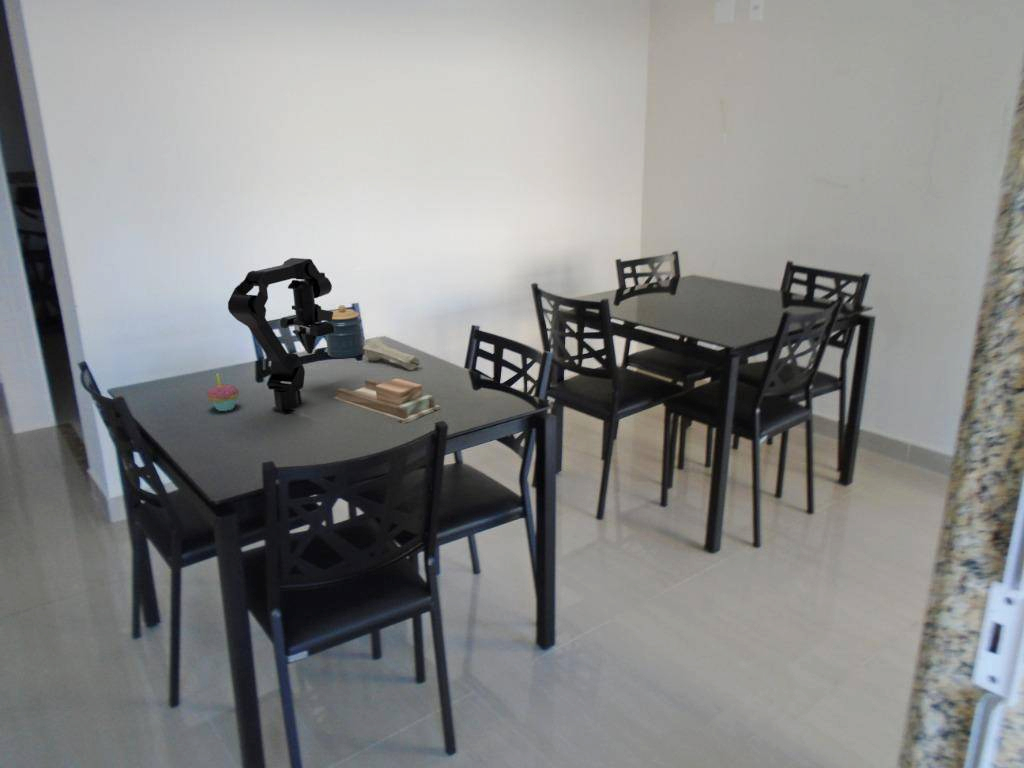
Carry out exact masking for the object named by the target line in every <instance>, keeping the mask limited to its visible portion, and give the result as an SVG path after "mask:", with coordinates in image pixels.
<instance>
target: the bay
mask: <svg viewBox="0 0 1024 768" xmlns="http://www.w3.org/2000/svg"><path fill="white" fill-rule="evenodd" d="M382 383H383V382H380V381H377V380H373V379H369V378H368V379H365V380H364V384H365V385H364V386H363V387H361V388H358V389H355V390H352V391H351V390H348V389H345V388H338V389H336V390H337V396H335V397H333V399H335V400H338V401H341V402H345V403H348V404H350V405H354V406H357V407H360V408H363V409H366V410H369V411H372V412H375V413H378V414H381V415H385V416H388V417H391V418H393V419H397V420H398V421H397V423H399V422H401V423H400V424H402V423H403V425H405V424H407V423H406V422H408V423H410V422H412V421H414V419H415V420H417V419H420V418H422V417H424V416H423V415H425V414H427V413H430V412H432V411H434V410H437V409H439V408H440V409H441V406H440V405H437V404H435V397H434V395H431V394H426V395H425V394H422V397H420V398H417V399H415V400H412V401H410V402H407V403H404V404H402V405H399V406H397V405H394V404H391V403H388V402H384V401H381V400H378V399H377V396H376V390H375V387H376V385H379V384H382ZM440 409H439V410H440ZM437 411H438V410H437ZM434 412H435V411H434ZM432 413H433V412H432ZM430 414H431V413H430ZM427 415H428V414H427ZM421 416H422V417H421ZM425 416H426V415H425ZM419 417H420V418H419ZM416 418H417V419H416ZM409 421H410V422H409ZM404 423H405V424H404Z"/></svg>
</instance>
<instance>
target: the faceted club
mask: <svg viewBox="0 0 1024 768" xmlns="http://www.w3.org/2000/svg"><path fill="white" fill-rule="evenodd" d="M363 349H364V352H365V356H366V358H367V359H368V360H369V361H371V362H377V361H380V360H385V361H387V362H389V363H393V364H396V365H399V366H402V367H403V368H404V369H406V370H408V371H410V370H412V371H414V370H415V369H416V368H418V366H419V365H421V361H420V358H419V357H418V356H417V355H415V354H410V353H409V354H408V353H405V352H402V351H400V350H397V349H395V348H391V347H388V346H387V344H386V342H385V341H384V340H382V339H381V338H379V337H378V336H377V337H374V338H371V339H370V340H368V342H367V343H366V344H365V345H364V347H363Z"/></svg>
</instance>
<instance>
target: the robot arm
mask: <svg viewBox="0 0 1024 768" xmlns="http://www.w3.org/2000/svg"><path fill="white" fill-rule="evenodd" d="M288 280H291V282H290V283H289V284H288V285H287V289H290V290H292V294H293V301H294V302H293V303H294V304H293V305H291V310H294V311H295V314H292V315H288V316H283V317H282V318H280V321H279V324H280V328H282V329H288V328H289V326H293V327H294V329H293V330H292V333H293V334H294V335H295V336H296V338H297V339H298V341H299V342H300V343H301V345H302V347H303V349H304V350H305V352H306V353H307V354H308V355H311V354H313V353H314V352H313V351H314V349H315V348H314V347H315V344H316V339H317V337H323V336H326V335H327V334H331V333H335V327H334V325H333V324H332V323H328V322H325V321H329V322H332V317H333V312H332V311H333V310H326V309H322V306H321V305H319V304H317V303H316V302H315V299H318V298H319V297H323V296H326V295H329V293H331V292H332V289H333V286H332V283H331V280H330V279H329V278H328V277H327V276H326V273H325V272H320V271H319V270H318V268H317V266H316V265H315V263H314V261H313V259H311V258H298V257H291V258H289V259H287V260H285V261H283V263H281V265H277V266H272V267H268V268H263V269H259V270H251V271H249V272H248V273H247V274H246V275H245V278H244V280H243V281H241V282H240V283H239V284H238V285H236V287H235V288H234V289H233V291H232V294H231V295H230V298H229V300H228V302H227V309H228V312H229V313H230V314H231V316H233V318H234V319H235V320H236V321H238V322H239V323H242V325H245V326H246V327H247V328H248V330H249V331H250V332H251V334H252V335H253V337H254V338H255V340H256V341H257V343H258V344H259V345H260V347H261V349H262V350H263V352H264V353H265V355H266V356H267V357H268V359H269V360H270V369H269V370H270V372H271V373H270V375H269V377H268V380H267V382H266V386H267V388H268V390H272V391H273V396H274V405H275V406H273V407H272V410H273V411H276V412H279V413H282V414H285V415H288V414H290V413H293V412H295V411H296V410H295V408H297V407H299V406H301V405H302V403H303V402H302V393H301V389H304V382H305V376H306V375H305V373H306V371H305V366H304V362H303V361H302V360H301V358H300V356H299V355H298V354H297V353H293V352H290V353H289V352H287V350H286V349H285V347H284V346H283V344H282V342H281V340H280V339H279V337H278V336H277V334H276V333H275V331H274V330H273V329H272V327H271V325H270V324H269V322H268V320H267V319H266V313H267V308H266V306H265V305H266V304H267V301H268V299H269V295H268V294H269V293H268V287H269V286H270V285H273V284H277V283H280V282H284V281H288ZM254 287H258V293H257V294H256V295H255V294H249V293H250V292H251V291H252V290H253V289H254Z"/></svg>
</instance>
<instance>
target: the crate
mask: <svg viewBox="0 0 1024 768" xmlns="http://www.w3.org/2000/svg"><path fill="white" fill-rule="evenodd" d="M381 383H382V384H379V385H376V387H375V390H376V396H377V399H378V400H381V401H384V402H388V403H391V404H394V405H397V406H399V405H402V404H404V403H407V402H410V401H412V400H415V399H417V398H420V397H422V395H423V394H422V390H423V386H422V385H421V384H420V383H415V382H412V381H407V380H405V379H400V378H393V379H391V380H388V381H385V382H384V381H383V382H381Z"/></svg>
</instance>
